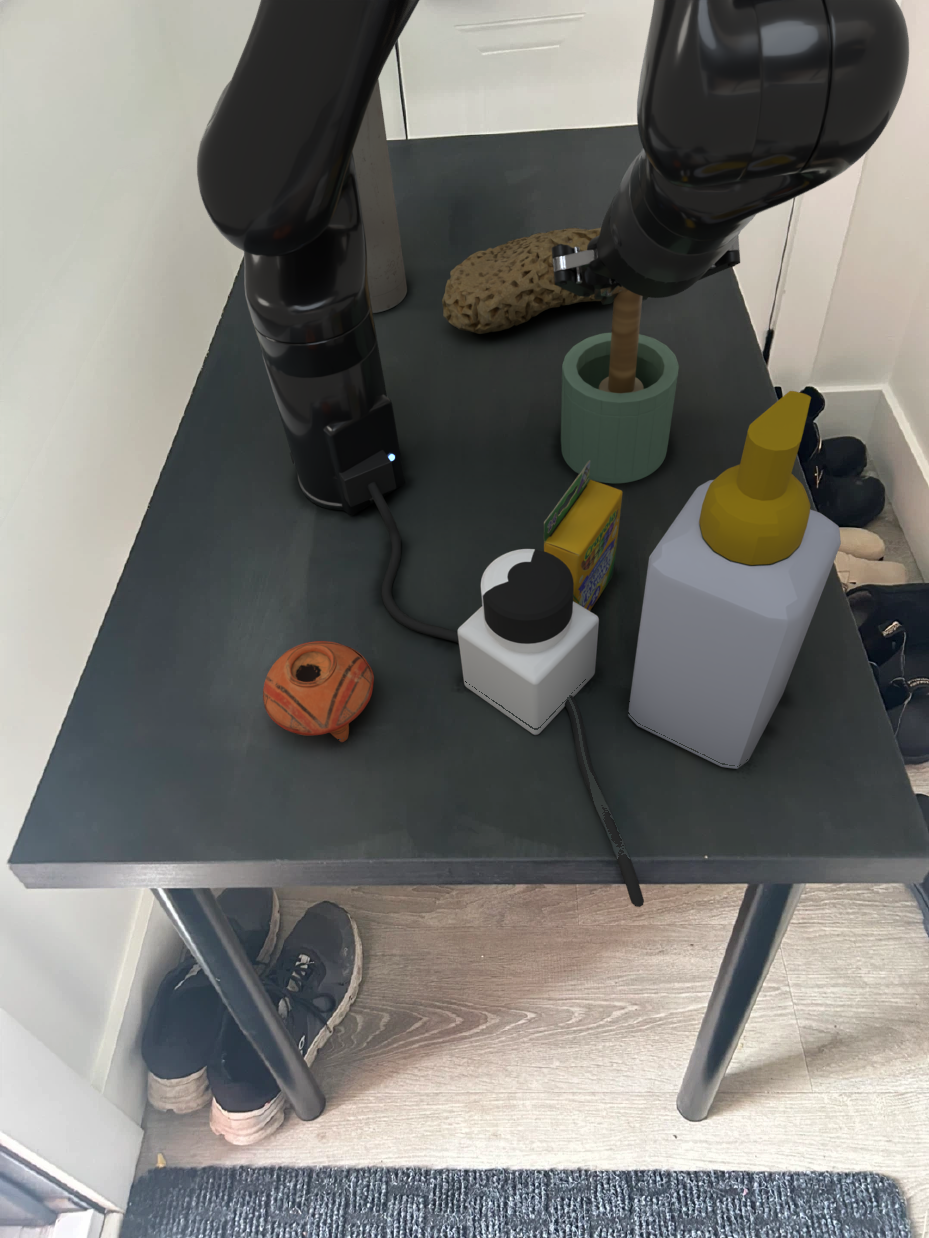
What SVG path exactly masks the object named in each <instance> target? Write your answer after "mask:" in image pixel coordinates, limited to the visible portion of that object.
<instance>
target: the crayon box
mask: <svg viewBox="0 0 929 1238" xmlns="http://www.w3.org/2000/svg"><path fill="white" fill-rule="evenodd" d="M589 472H590V460H589V461H588V462H587V464H586V465H585V467H584V468H583V470H582V471H581V473H580V474H578V475H577V476H576V478H575V479H574V481H573V482H572V483H571V485H570V486H569V487H568V489H567V490H566V491H565V493H564V494H563V496H562V497H560V499H559V500H558V502H557V503H556V505H555V506H554V508H553V509H552V510H551V512H550V513H549V515H548V516H547V518H546V519H545V520H544V521H543V551H544V552H547V553H550V554H552V555H554V556H556V557H557V558H559V559H560V560H561V561H563V562H564V563H565V564H566V565H567V567H568V568H569V570H570V572H571V574H572V577H573V582H574V590H573V601H574V602H575V603H577V604H579V605H580V606H582V607H584V608H585V609H587V610H588V611H590V612H591V610H592V608H593V607H594V606H595V604H596V602H597V601H598V599H599V598H600V596H601V595H602V594H603V592H604V590H605V589H606V587H607V586H608V584H609V583H610V581H611V580H612V578H613V576H614V568H615V563H616V555H617V546H618V536H619V528H620V518H621V509H622V501H623V490H621V489H619V488H616V487H613V486H611V485H608V484H606V483H603V482H598V481H594V480H591V479H589ZM574 490H575V492H574ZM573 492H574V493H573ZM572 493H573V494H572ZM570 494H572V495H571V497H570V498H569V500H568V503H567V505H566V506H565V507H563V508H562V506H564V504H565V503H566V500H567V498H568V496H569V495H570ZM561 508H562V510H561V511H559V510H560V509H561Z"/></svg>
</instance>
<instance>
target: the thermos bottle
mask: <svg viewBox="0 0 929 1238" xmlns="http://www.w3.org/2000/svg"><path fill="white" fill-rule="evenodd" d="M353 157H354V163H355V170H356V176H357V183H358V190H359V197H360V203H361V210H362V217H363V224H364V231H365V238H366V247H367V274H368V286H369V292H370V298H371V306H372V312H373V314H377V313H382V312H384V311H388V310H390V309H392V308H394V307H396V306H398V305H399V304H400V303H402V301H403V300H404V299H405V298H406V295H407V293H408V286H407V277H406V270H405V263H404V257H403V250H402V249H403V248H402V242H401V234H400V227H399V219H398V213H397V205H396V197H395V191H394V181H393V176H392V168H391V161H390V153H389V147H388V138H387V133H386V124H385V116H384V110H383V103H382V95H381V87H380V81H379V78H378V80H377V83H376V85H375V88H374V90H373V93H372V96H371V98H370V101H369V103H368V106H367V109H366V112H365V115H364V118H363V121H362V124H361V127H360V130H359V133H358V136H357V139H356V142H355V145H354V148H353Z"/></svg>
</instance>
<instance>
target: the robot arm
mask: <svg viewBox="0 0 929 1238" xmlns="http://www.w3.org/2000/svg"><path fill="white" fill-rule="evenodd" d="M420 1H421V0H260V2H259V5H258V9H257V11H256V14H255V15H256V16H255V19H254V21H253V24H252V26H251V29H250V32H249V34H248V39H247V41H246V43H245V46H244V47H243V50H242V53H241V55H240V58H239V59H238V63H237V65H236V67H235V69H234V72H233V75H232V77H231V79H230V80H229V82H228V83H227V84H226V85H225V87H224V88H223V90H222V91H221V93H220V95H219V96H218V100H217V101H216V103H215V106H214V107H213V111H212V113H211V114H210V118H209V120H208V122H207V124H206V127H205V128H204V131H203V134H202V136H201V138H200V141H199V146H198V151H197V156H196V177H197V184H198V189H199V194H200V199H201V201H202V204H203V207H204V209H205V211H206V213H207V215H208V217H209V219H210V221H211V223H212V224H213V225H214V226H215V228H216V229H217V230H218V232H219V233H220V234H221V236H223V237H224V239H226V241H228V242H229V243H230V244H231V245H233V246H234V247H236V248H237V249H239V250H240V251H243V261H244V264H243V265H244V266H243V267H244V280H243V281H244V294H245V300H246V304H247V308H248V311H249V314H250V318H251V322H252V324H253V328H254V331H255V334H256V338H257V341H258V345H259V348H260V351H261V355H262V359H263V362H264V366H265V369H266V373H267V375H268V379H269V383H270V386H271V390H272V392H273V393H272V394H273V396H274V399H275V403H276V406H277V409H278V413H279V416H280V419H281V423H282V427H283V429H284V434H285V436H286V440H287V443H288V446H289V450H290V452H289V456H290V459H291V462H292V465H295V469H296V473H297V480H298V484H299V488H300V490H301V491H302V493H303V495H304V496H305V498H307V499H308V500H309V501H310V502H312V503H313V504H315V505H317V506H319V507H322V508H324V509H330V510H338V511H344V512H346V513H347V515H349V516H355V515H356V514H358V513H359V512H361V511H362V510H364V509H366V508H367V507H370V506H371V505H372V504H375V505H376V508H377V510H378V512H379V514H380V517H381V519H382V521H383V523H384V525H385V527H386V529H387V531H388V534H389V537H390V544H391V545H390V546H391V552H390V560H389V563H388V567H387V569H386V571H385V575H384V577H383V579H382V580H383V581H382V583H381V590H380V591H381V600H382V602H383V605H384V606H385V608H386V610H387V612H388V613H389V614H390V616H391V617H392V618H393V619H394V620H396V621H397V622H398V623H399V624H401V625H402V626H404V627H405V628H407V629H409V630H412V631H415V632H416V633H420V634H423V635H427V636H431V637H433V638H434V637H435V638H439V639H442V640H446V641H449V642H452V643H457V644H459V640H458V630H453V629H449V628H446V627H441V626H437V625H433V624H430V623H425V622H424V621H423V622H422V621H420V620H417V619H415V618H413V617H411V616H409V615H408V614H406V613H405V612H403V610H402V609H400V607H399V606H398V605H397V604H396V602H395V601H394V598H393V591H392V590H393V585H394V581H395V578H396V575H397V572H398V569H399V566H400V563H401V559H402V558H401V557H402V541H401V540H402V539H401V535H400V532H399V528H398V525H397V523H396V521H395V519H394V516H393V515H392V512H391V510H390V507H389V506H388V504H387V502H386V500H385V498H384V497H386V496H387V495H389V494H390V493H392V492H394V491H396V490H397V489H399V488H401V487H402V486H404V485H405V484H406V477H405V472H404V465H403V460H402V454H401V448H400V442H399V435H398V430H397V423H396V419H395V418H396V417H395V413H394V406H393V402H392V400H391V399H390V398H389V397H388V393H387V389H386V388H387V387H386V382H385V377H384V371H383V364H382V359H381V354H380V348H379V342H378V337H377V336H378V335H377V329H376V324H375V319H374V313H373V312H372V306H371V298H370V292H369V286H368V274H367V247H366V238H365V231H364V224H363V217H362V210H361V203H360V197H359V190H358V183H357V176H356V170H355V163H354V157H353V148H354V145H355V142H356V139H357V136H358V133H359V130H360V127H361V124H362V121H363V118H364V115H365V112H366V109H367V106H368V103H369V101H370V98H371V96H372V93H373V90H374V88H375V85H376V83H377V80H378V79H379V78H380V75H381V74H382V71H383V69H384V66H385V65H386V63H387V61H388V59H389V57H390V55H391V53H392V51H393V49H394V47H395V45H396V43H397V42H398V40H399V39H400V36H401V35H402V33H403V31H404V30H405V28H406V26H407V24H408V23H409V21H410V20H411V17H412V15H413V14H414V11H415V10H416V9H417V6H418V4H419V3H420ZM909 61H910V38H909V32H908V27H907V22H906V18H905V16H904V12H903V11H902V9H901V7H900V5H899V4H898V1H897V0H653V5H652V12H651V17H650V23H649V28H648V33H647V37H646V43H645V48H644V53H643V59H642V64H641V69H640V75H639V84H638V89H637V91H638V92H637V99H636V123H637V130H638V136H639V139H640V142H641V145H642V148H641V149H640V152H639V154H637V155H636V157H634V159H633V160H632V162H631V163H630V164H629V166H628V167H627V169H626V172H625V173H624V175H623V177H622V179H621V181H620V183H619V185H618V187H617V189H616V190H615V194H614V196H613V198H612V200H611V202H610V204H609V207H608V208H607V210H606V212H605V215H604V217H603V220H602V223H601V227H600V228H601V231H600V235H599V236H597V237H595V238H593V239H592V240H591V241H590V242H589V244H588V246H587V250H585V251H581V252H580V248H579V247H573V248H572V247H570V246H569V245H564V244H558V245H556V246H554V247H552V261H553V271H554V280H555V285H557V286H559V287H561V288H563V289H565V290H567V291H569V292H572V293H574V294H576V295H578V296H581V297H590V295H593V294H594V296H595V299H596V300H598V299H601V301H600V302H601V305H611V304H613V302H614V298H616V296H617V295H618V293H625V292H627V291H628V290H629V291H631V292H633V293H635V294H638V295H641V296H643V298H642V301H646V300H648V298H649V299H650V298H651V299H659V298H660V299H661V298H668V297H672V296H675V295H678V294H680V293H682V292H684V291H686V290H688V289H690V287H692V286H693V285H695V284H696V283H697V282H698V281H700V280H703V279H705V278H708V277H710V276H713V275H715V274H717V273H721V272H722V271H725V270H728V269H729V268H733V267H736V266H737V265H739V264H741V251H740V250H741V249H740V237H739V236H740V233H741V231H743V229H745V227H747V225H748V224H750V223H751V221H752V220H753V219H754V218H755V217H756V216H757V215H758V214H760V213H763V212H765V211H767V210H770V209H772V208H775V207H777V206H780V205H782V204H785V203H787V202H789V201H791V200H793V199H795V198H797V197H800V196H801V195H804V194H806V193H807V192H810V191H812V190H814V189H816V188H817V187H820V186H822V185H824V184H826V183H828V182H829V181H831V180H833V179H834V178H836V177H838V176H840V175H841V174H842V173H844V172H846V171H847V170H848V169H850V168H851V167H852V166H853V165H854V164H855V163H857V162H858V161H859V160H860V159H862V158H863V156H865V154H866V153H867V152H869V150H870V149H871V148H872V147H873V146H874V144H875V143H876V142H877V140H878V139H879V138H880V137H881V135H882V134H883V132H884V130H885V129H886V127H887V125H888V124H889V122H890V120H891V119H892V116H893V114H894V112H895V110H896V108H897V105H898V103H899V100H900V98H901V96H902V93H903V90H904V86H905V83H906V78H907V74H908V70H909V69H908V68H909ZM570 698H571V700H572V702H573V704H574V706H575V709H576V712H577V715H578V719H579V724H580V729H581V735H582V741H583V747H584V752H585V756H586V760H587V764H588V767H589V770H590V772H591V773H592V775H593V776H594V779H595V781H596V783H597V785H598V787H599V789H600V790H601V792H602V789H601V786H600V784H599V781H598V779H597V776H596V773H595V771H594V768H593V765H592V762H591V758H590V754H589V750H588V749H589V747H588V742H587V736H586V730H585V726H584V721H583V717H582V714H581V711H580V708H579V705H578V704H577V701H576V699H575V698H574V697H573V696H572V695H571V696H570ZM565 709H566V711H567V713H568V716H569V718H570V721H571V726H572V732H573V739H574V745H575V751H576V757H577V761H578V764H579V768H580V772H581V774H582V778H583V780H584V783H585V786H586V789H587V791H588V794H589V796H590V798H591V801H592V803H593V805H594V801H593V797H592V793H591V789H590V782H589V778H588V774H587V770H586V767H585V764H584V760H583V756H582V752H581V747H580V741H579V734H578V728H577V723H576V718H575V715H574V711H573V709H572V706H571V704H570V702H569V700H568V699H567V700H566V702H565ZM602 794H603V795H604V793H603V792H602ZM601 806H603V805H601ZM594 808H595V809H596V807H595V805H594ZM602 809H603V810H604V812H603V813H605V814H604V815H603V816H605V817H604V819H605V820H604V819H603V820H604V822H605V824H606V827H607V829H609V830H608V832H610V833H609V834H612V835H611V838H612V839H611V840H612V841H613V842H614V841H615V842H614V843H615V844H618V845H617V846H616V847H619V848H620V847H622V846H624V845H622V846H621V844H622V842H620V841H622V839H623V838H622V839H621V838H620V836H619V834H621V832H620V831H619V832H620V833H619V832H618V831H617V827H618V826H617V827H616V825H617V824H616V825H615V823H616V821H615V819H614V820H613V819H612V818H611V817H610V815H611V814H612V813H611V814H610V813H609V811H608V810H605V809H607V808H604V807H602ZM605 811H608V812H605ZM596 813H597V814H598V812H597V811H596ZM603 813H602V814H603ZM614 821H615V822H614ZM622 849H624V848H622ZM619 852H621V853H619ZM619 852H618V854H619V855H618V856H619V857H618V859H617V858H616V861H617V864H618V867H619V869H620V872H621V875H622V877H623V881H624V884H625V887H626V890H627V894H628V896H629V899H630V903H631V904H632V905H633V906H634V907H636V908H641V907H642V906H644V902H645V899H644V896H643V892H642V889H641V886H640V883H639V880H638V876H637V874H636V871H635V868H634V865H633V862H632V859H631V858H630V859H629V858H628V857H627V855H626V854H623V855H621V854H622V853H624V851H623V850H621V849H620V850H619Z"/></svg>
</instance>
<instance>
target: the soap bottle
mask: <svg viewBox="0 0 929 1238" xmlns="http://www.w3.org/2000/svg"><path fill="white" fill-rule="evenodd" d="M811 399H812V397H811V396H810V395H808V394H807V393H803V392H799V391H796V390H789V391H787V393H786V394H784V395H783V396H782V397H781V398H780V399H778V400H777V401H776V402H775V403H773V404H772V405H771V406H770V407H769V408H768V409H766V411H764V412H763V413H761V414H760V415H759V416H758V417H757V418H756V419H755V420H754V421H751V423H750V424H749V425H748V429H747V433H746V437H745V440H744V446H743V450H742V454H741V459H740V462H739V464H737V465H734V466H732V467H729V468H727V469H725V470H724V471H723V472H721V473H720V474H719V475H718V476H717V477H716V478H715V479H709V480H707V481H706V482H704V483H702V484H701V485H699V486H697V488H696V489H695V490H694V491H693V493H692V494H691V496H690V497H689V499H688V500H687V501H686V503H685V504H684V506H683V508H681V510H680V512H679V513H678V515H677V516H676V517H675V519H674V520H673V522H672V523H671V524H670V526H669V527H668V529H667V530H666V532H665V533H664V535H663V536H662V538H661V539H660V540H659V542H658V543H657V544H656V547H655V548H654V549H653V551H652V552H651V554H650V555H649V557H648V562H647V563H648V564H647V571H646V577H645V584H644V585H645V586H644V592H643V599H642V607H641V615H640V623H639V629H638V636H637V642H636V643H637V644H636V649H635V650H636V651H635V657H634V658H635V659H634V666H633V673H632V680H631V688H630V695H629V701H630V702H629V701H628V711H627V717H629V719H631V721H632V722H633V723H634V724H635V725H636V726H637V727H639V728H641V729H643V730H645V731H647V732H650V733H651V734H653V735H655V736H657V737H660V738H662V739H664V740H666V741H668V742H669V743H672V744H674V745H676V746H678V747H680V748H682V749H683V750H687V751H688V752H691V753H692V754H694V755H697V756H699V757H701V758H703V759H705V760H707V761H709V762H711V763H713V764H715V765H717V766H719V767H721V768H728V769H736V770H738V769H740V768H741V767H742V766H744V764H746V763H747V762H749V761H750V758H751V757H752V755H753V753H754V751H755V749H756V747H757V745H758V743H759V741H760V739H761V738H762V735H763V733H764V731H765V730H766V728H767V725H768V723H769V722H770V720H771V718H772V716H773V714H774V712H775V710H776V708H777V707H778V705H779V702H780V701H781V699H782V697H783V695H784V692H785V690H786V688H787V685H788V682H789V679H790V677H791V674H792V672H793V669H794V667H795V664H796V661H797V659H798V656H799V653H800V651H801V648H802V646H803V644H804V640H805V638H806V635H807V633H808V630H809V627H810V626H811V622H812V620H813V618H814V615H815V612H816V610H817V607H818V604H819V601H820V599H821V596H822V594H823V591H824V588H825V586H826V584H827V581H828V578H829V576H830V573H831V571H832V568H833V565H834V562H835V561H836V558H837V555H838V552H839V549H840V547H841V544H842V540H841V530H840V526H839V525H838V524H836V523H835V522H834V521H832V520H831V519H829V518H828V517H827V516H825V515H824V514H822V512H819V511H817V510H816V511H815V510H813V509H811V502H810V499H809V497H808V493H807V491H806V489H805V487H804V484H803V483H801V481H800V480H799V479H798V478H797V477H796V476H795V475H794V474H793V473H792V472H793V469H794V465H795V462H796V459H797V456H798V452H799V448H800V445H801V442H802V438H803V434H804V430H805V425H806V422H807V417H808V413H809V408H810V403H811ZM628 712H629V713H630V715H631V716H632V717H633V718H634V719H635V720H636V721H637V722H638V723H640V724H641V725H640V724H638V723H637V722H636V721H635V720H634V719H633V718H632V717H631V716H630V715H629V714H628ZM642 725H643V726H642ZM644 726H646V727H648V728H650V729H652V730H655V731H656V732H658V733H656V732H654V731H652V730H650V729H648V728H646V727H644ZM659 733H660V734H659ZM661 734H662V735H661ZM663 735H665V736H666V737H665V736H663ZM667 737H668V738H667ZM669 738H670V739H669ZM671 739H673V740H675V741H677V742H678V743H677V742H675V741H673V740H671ZM679 743H681V744H683V745H685V746H687V747H689V748H692V749H694V750H696V751H698V752H699V753H697V752H695V751H693V750H691V749H689V748H687V747H685V746H683V745H681V744H679ZM700 753H701V754H700ZM702 754H705V755H706V756H708V757H710V758H712V759H714V760H716V761H718V762H720V763H725V764H728V765H722V764H720V763H718V762H716V761H714V760H712V759H710V758H708V757H706V756H704V755H702ZM747 759H748V760H747ZM746 760H747V761H746ZM740 764H741V765H740ZM729 765H735V766H729ZM739 765H740V766H739ZM737 766H738V767H737Z"/></svg>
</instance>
